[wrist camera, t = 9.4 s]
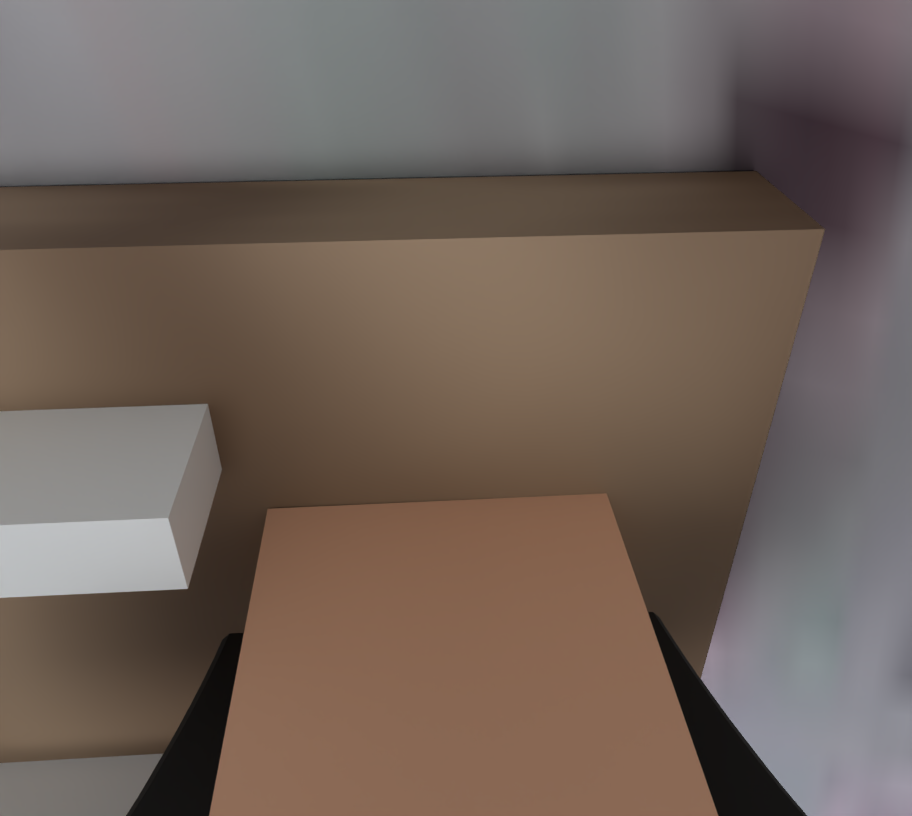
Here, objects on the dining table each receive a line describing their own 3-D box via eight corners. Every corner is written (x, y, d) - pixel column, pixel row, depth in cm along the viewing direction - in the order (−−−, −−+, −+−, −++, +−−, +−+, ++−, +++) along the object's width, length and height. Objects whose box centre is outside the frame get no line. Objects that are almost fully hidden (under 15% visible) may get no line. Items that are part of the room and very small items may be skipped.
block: (304, 716, 13) (270, 1059, 9) (267, 508, 10) (198, 867, 7) (577, 700, 13) (650, 1026, 9) (607, 493, 11) (724, 829, 7)
